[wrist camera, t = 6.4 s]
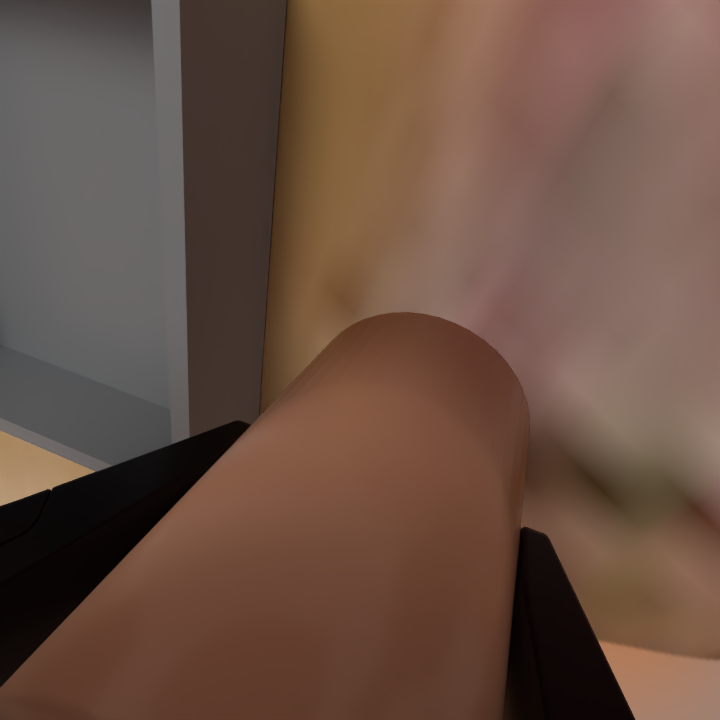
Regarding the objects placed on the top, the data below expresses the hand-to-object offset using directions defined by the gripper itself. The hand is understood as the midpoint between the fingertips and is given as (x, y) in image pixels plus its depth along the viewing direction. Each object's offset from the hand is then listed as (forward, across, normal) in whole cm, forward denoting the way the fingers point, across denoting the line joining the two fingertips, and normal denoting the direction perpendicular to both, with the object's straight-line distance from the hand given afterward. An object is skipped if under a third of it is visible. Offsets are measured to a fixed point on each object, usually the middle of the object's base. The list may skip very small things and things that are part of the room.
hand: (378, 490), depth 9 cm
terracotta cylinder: (+3, 0, 0) cm, 3 cm away
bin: (+6, +12, -1) cm, 14 cm away
